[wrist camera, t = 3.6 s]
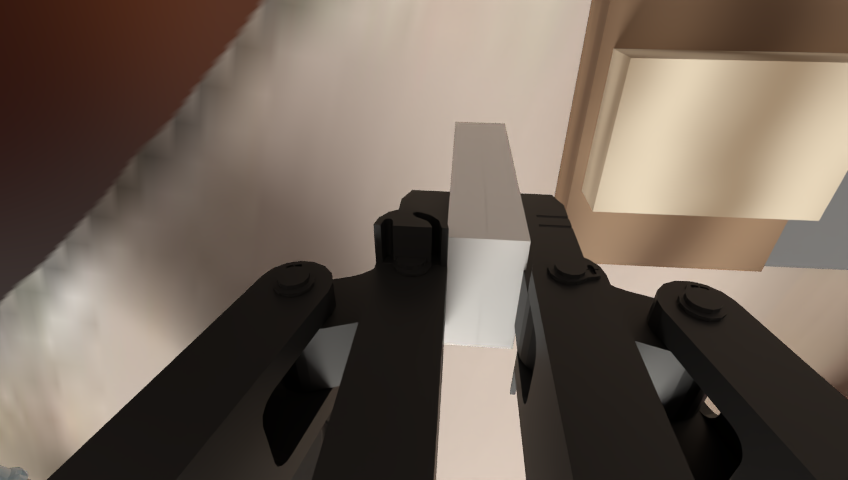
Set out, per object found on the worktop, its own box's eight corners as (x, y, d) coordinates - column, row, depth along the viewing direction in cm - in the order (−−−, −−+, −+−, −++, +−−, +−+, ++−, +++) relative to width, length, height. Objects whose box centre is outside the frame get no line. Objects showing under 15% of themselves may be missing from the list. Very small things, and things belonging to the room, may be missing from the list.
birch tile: (581, 190, 20) (592, 211, 18) (613, 48, 17) (630, 58, 15) (787, 198, 19) (818, 221, 18) (861, 53, 16) (908, 63, 14)
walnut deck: (547, 235, 24) (555, 261, 22) (606, -76, 17) (627, -82, 14) (734, 244, 24) (761, 271, 21) (882, -75, 16) (946, -81, 14)
